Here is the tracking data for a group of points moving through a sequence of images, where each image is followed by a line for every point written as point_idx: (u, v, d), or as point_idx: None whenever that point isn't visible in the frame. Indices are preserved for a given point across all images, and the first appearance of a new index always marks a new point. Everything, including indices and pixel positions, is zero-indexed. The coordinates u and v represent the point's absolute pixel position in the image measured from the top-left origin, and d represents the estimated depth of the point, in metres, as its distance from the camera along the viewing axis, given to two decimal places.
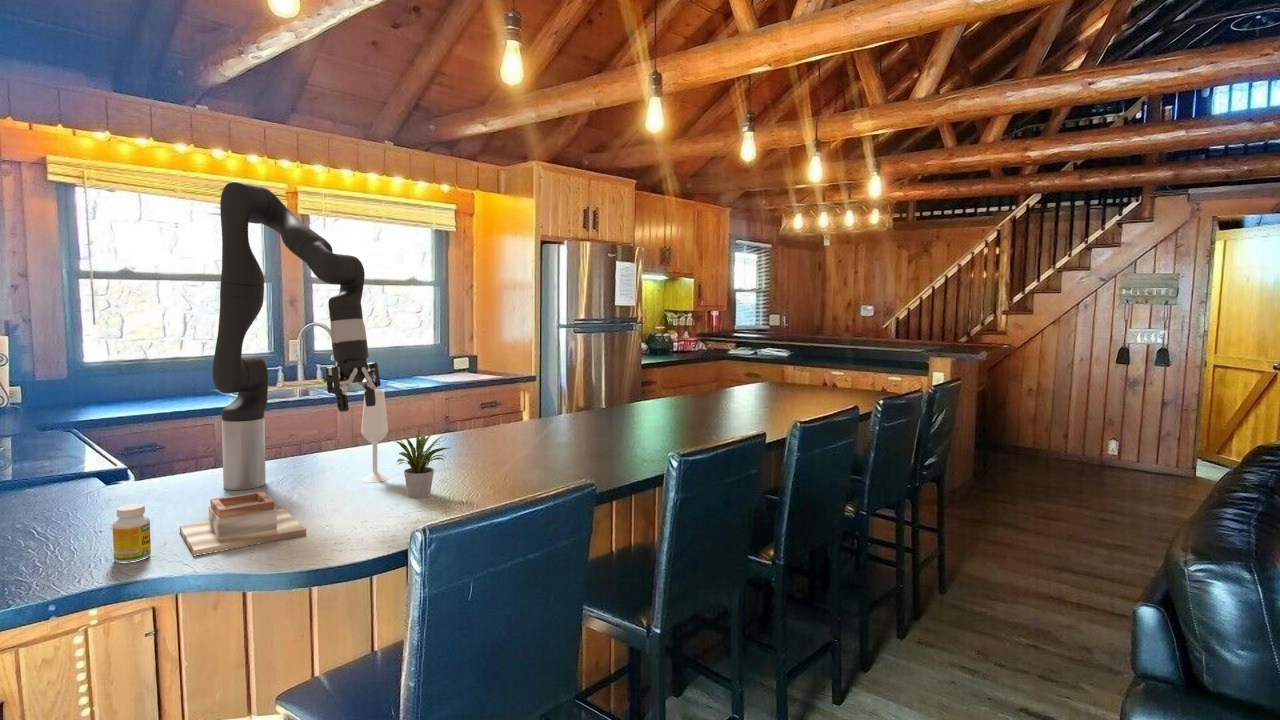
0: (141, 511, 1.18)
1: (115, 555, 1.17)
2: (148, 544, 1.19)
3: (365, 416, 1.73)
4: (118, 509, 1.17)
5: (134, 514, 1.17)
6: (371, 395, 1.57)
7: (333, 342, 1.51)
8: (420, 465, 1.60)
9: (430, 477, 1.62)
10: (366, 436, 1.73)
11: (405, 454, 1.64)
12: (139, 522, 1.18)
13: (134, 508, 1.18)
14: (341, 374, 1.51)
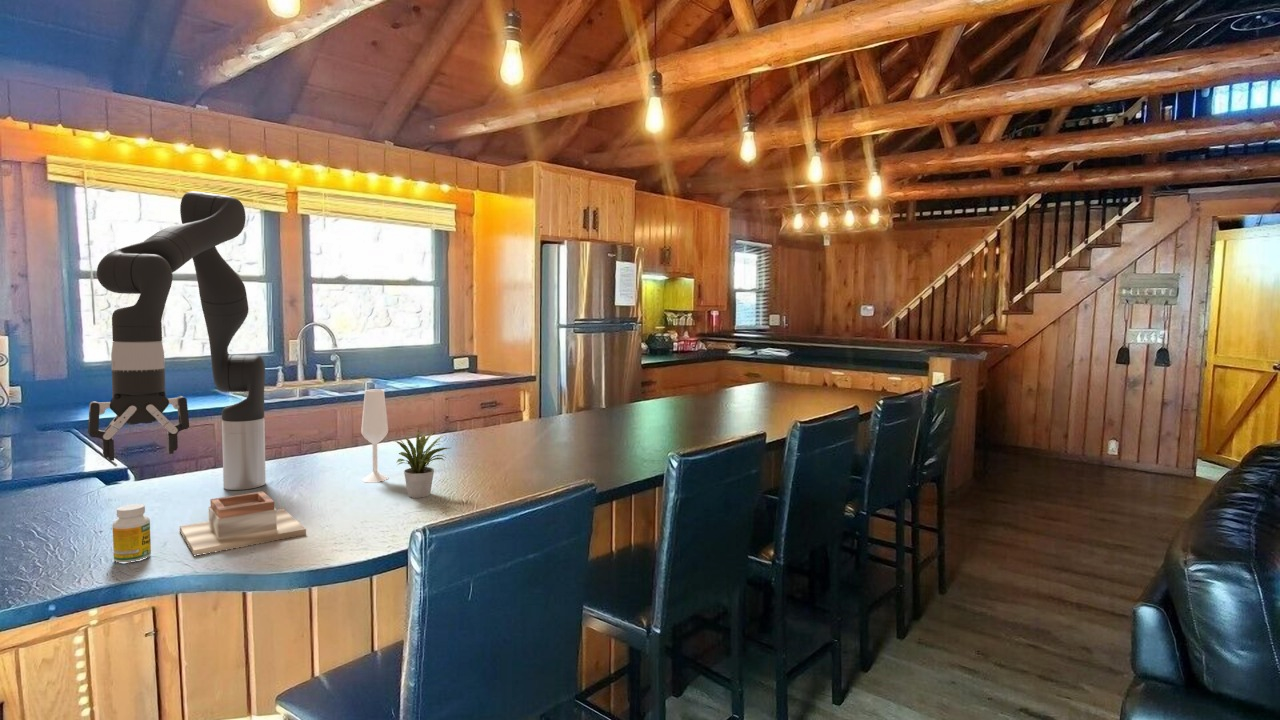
0: (141, 511, 1.18)
1: (115, 555, 1.17)
2: (148, 544, 1.19)
3: (365, 416, 1.73)
4: (118, 509, 1.17)
5: (134, 514, 1.17)
6: (168, 440, 1.20)
7: None
8: (420, 465, 1.60)
9: (430, 477, 1.62)
10: (366, 436, 1.73)
11: (405, 454, 1.64)
12: (139, 522, 1.18)
13: (134, 508, 1.18)
14: None
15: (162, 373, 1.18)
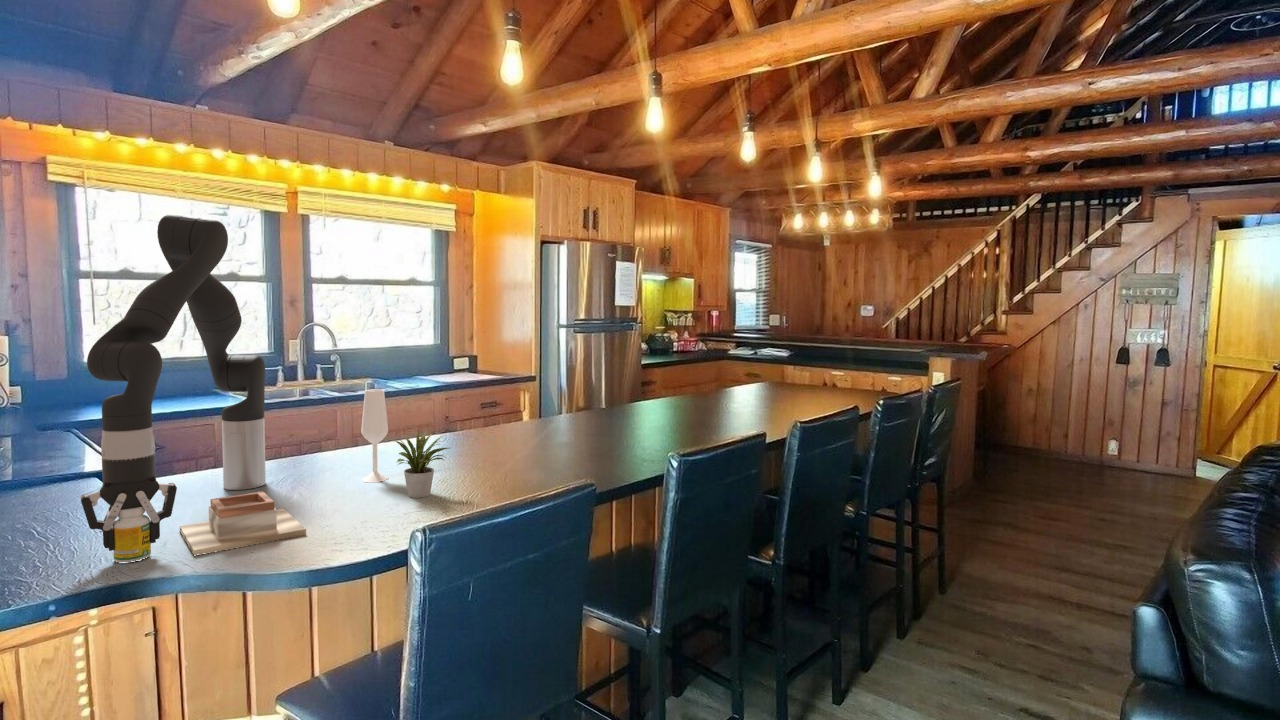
0: (141, 511, 1.18)
1: (115, 555, 1.17)
2: (148, 544, 1.19)
3: (365, 416, 1.73)
4: None
5: (134, 514, 1.17)
6: (150, 529, 1.20)
7: None
8: (420, 465, 1.60)
9: (430, 477, 1.62)
10: (366, 436, 1.73)
11: (405, 454, 1.64)
12: (139, 522, 1.18)
13: (134, 508, 1.18)
14: None
15: (152, 459, 1.18)
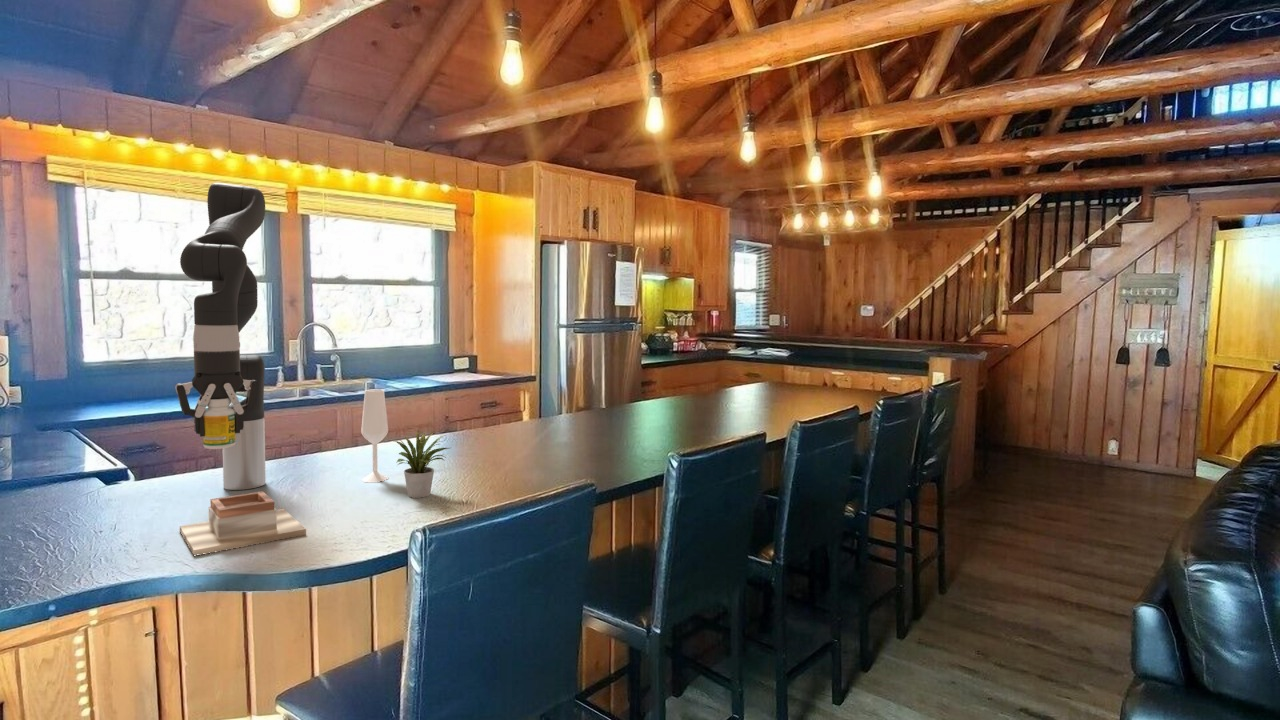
0: (227, 402, 1.28)
1: (205, 441, 1.27)
2: (233, 433, 1.30)
3: (365, 416, 1.73)
4: None
5: (222, 404, 1.27)
6: (235, 420, 1.30)
7: None
8: (420, 465, 1.60)
9: (430, 477, 1.62)
10: (366, 436, 1.73)
11: (405, 454, 1.64)
12: (226, 411, 1.28)
13: (222, 399, 1.28)
14: None
15: (238, 354, 1.28)
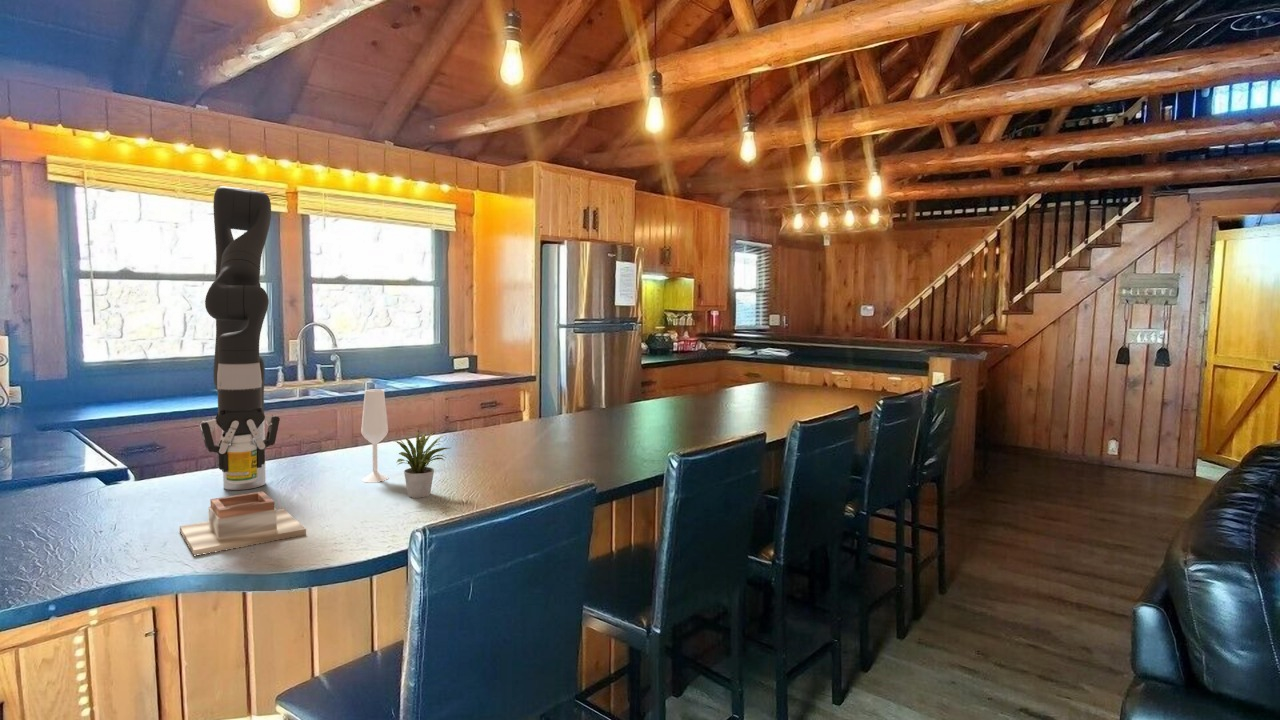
0: (250, 437, 1.32)
1: (228, 476, 1.30)
2: (256, 468, 1.33)
3: (365, 416, 1.73)
4: None
5: (245, 439, 1.31)
6: (257, 455, 1.33)
7: None
8: (420, 465, 1.60)
9: (430, 477, 1.62)
10: (366, 436, 1.73)
11: (405, 454, 1.64)
12: (249, 447, 1.31)
13: (244, 435, 1.31)
14: None
15: (260, 391, 1.32)
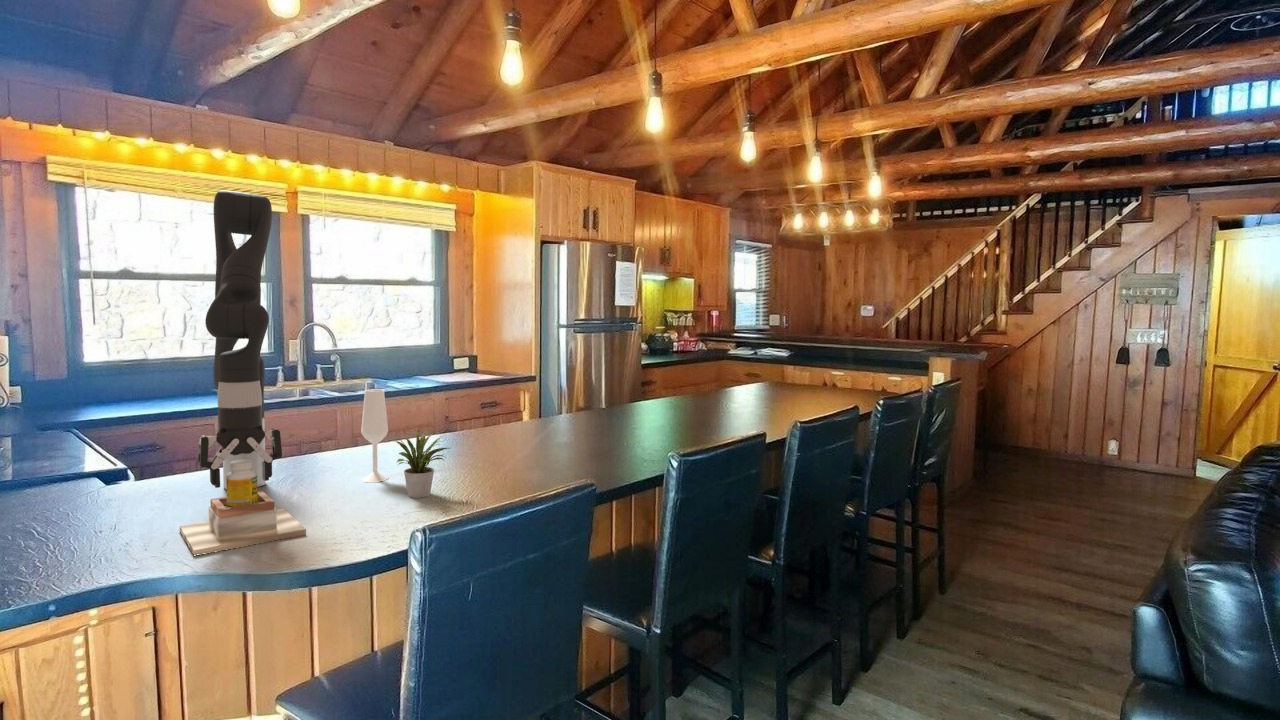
0: (251, 464, 1.32)
1: (229, 504, 1.31)
2: (256, 495, 1.33)
3: (365, 416, 1.73)
4: (231, 462, 1.31)
5: (245, 467, 1.31)
6: (264, 468, 1.34)
7: None
8: (420, 465, 1.60)
9: (430, 477, 1.62)
10: (366, 436, 1.73)
11: (405, 454, 1.64)
12: (249, 474, 1.31)
13: (245, 462, 1.32)
14: None
15: (260, 409, 1.32)
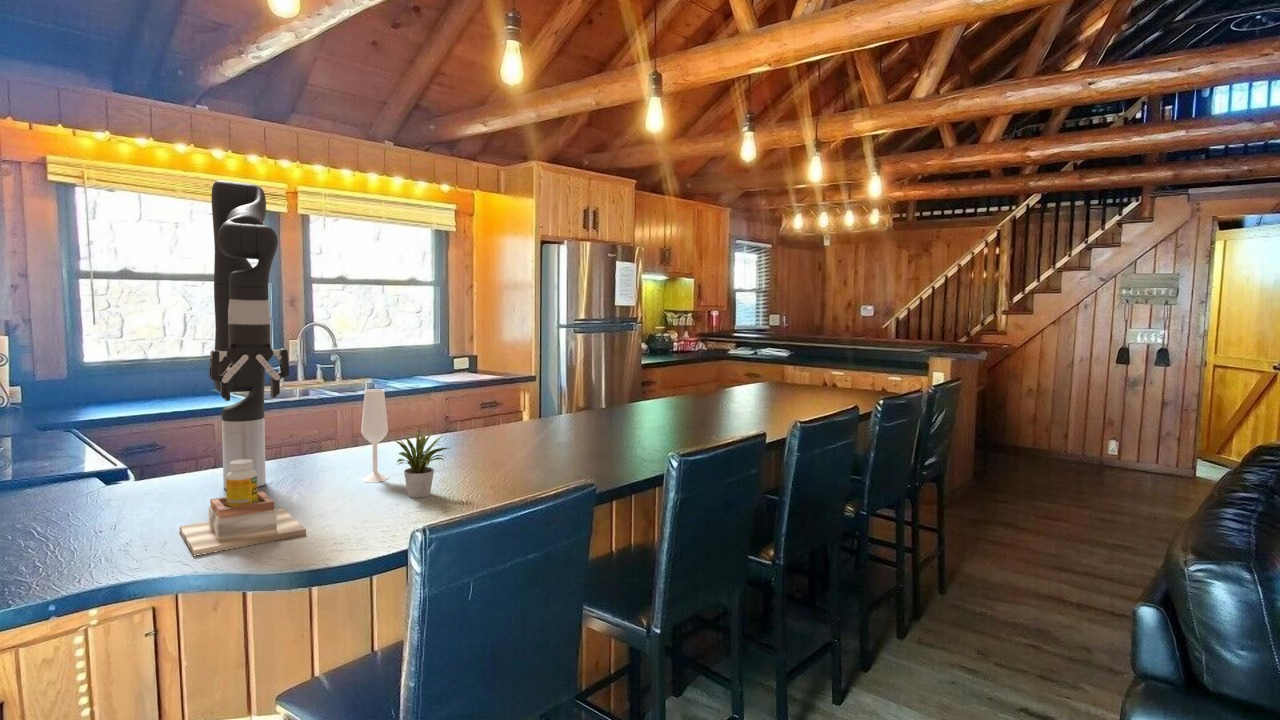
0: (250, 465, 1.32)
1: (229, 504, 1.31)
2: (256, 495, 1.33)
3: (365, 416, 1.73)
4: (231, 463, 1.31)
5: (245, 467, 1.31)
6: (272, 385, 1.40)
7: None
8: (420, 465, 1.60)
9: (430, 477, 1.62)
10: (366, 436, 1.73)
11: (405, 454, 1.64)
12: (249, 474, 1.31)
13: (245, 462, 1.32)
14: None
15: (269, 328, 1.37)
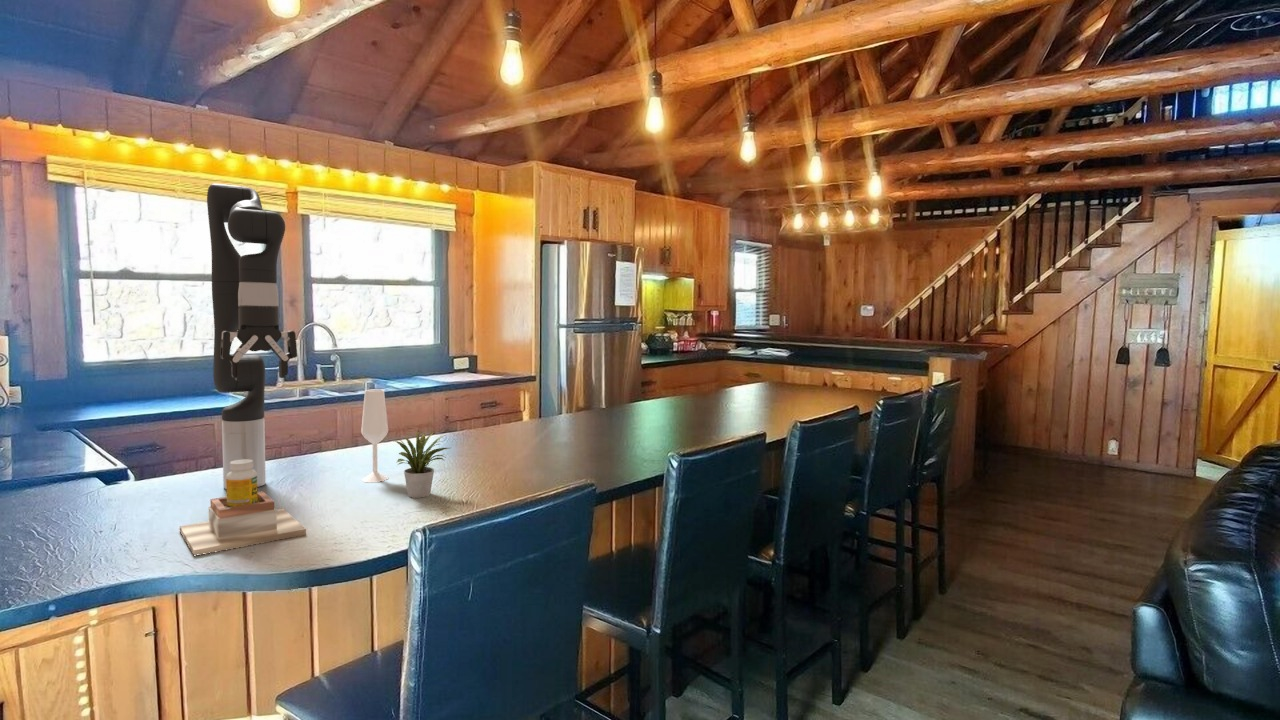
0: (250, 465, 1.32)
1: (229, 504, 1.31)
2: (256, 495, 1.33)
3: (365, 416, 1.73)
4: (231, 463, 1.31)
5: (245, 467, 1.31)
6: (281, 366, 1.45)
7: None
8: (420, 465, 1.60)
9: (430, 477, 1.62)
10: (366, 436, 1.73)
11: (405, 454, 1.64)
12: (249, 474, 1.31)
13: (245, 462, 1.32)
14: None
15: (277, 310, 1.43)
